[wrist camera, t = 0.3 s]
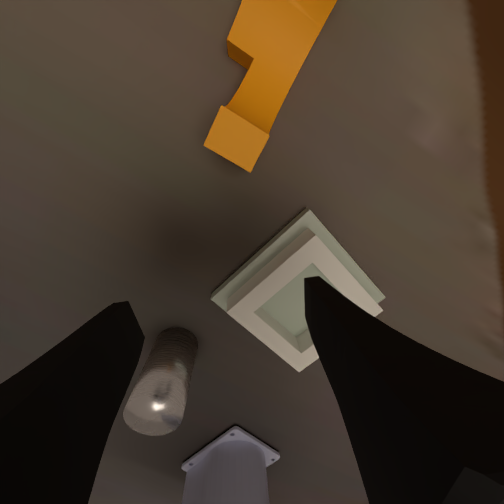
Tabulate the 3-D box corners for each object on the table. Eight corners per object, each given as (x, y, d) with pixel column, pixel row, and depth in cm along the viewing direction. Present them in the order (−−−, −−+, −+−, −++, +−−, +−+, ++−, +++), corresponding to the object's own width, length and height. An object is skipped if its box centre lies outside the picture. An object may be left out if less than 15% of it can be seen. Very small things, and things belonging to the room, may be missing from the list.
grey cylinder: (179, 367, 24) (157, 443, 17) (147, 345, 23) (110, 417, 16) (206, 343, 23) (194, 414, 17) (174, 320, 22) (147, 386, 16)
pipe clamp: (279, -61, 14) (312, -238, 8) (339, -10, 15) (410, -133, 9) (193, 138, 17) (168, 125, 11) (246, 169, 18) (250, 172, 12)
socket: (290, 358, 24) (297, 384, 22) (212, 293, 21) (208, 312, 18) (379, 291, 22) (399, 310, 19) (306, 207, 19) (318, 215, 16)
